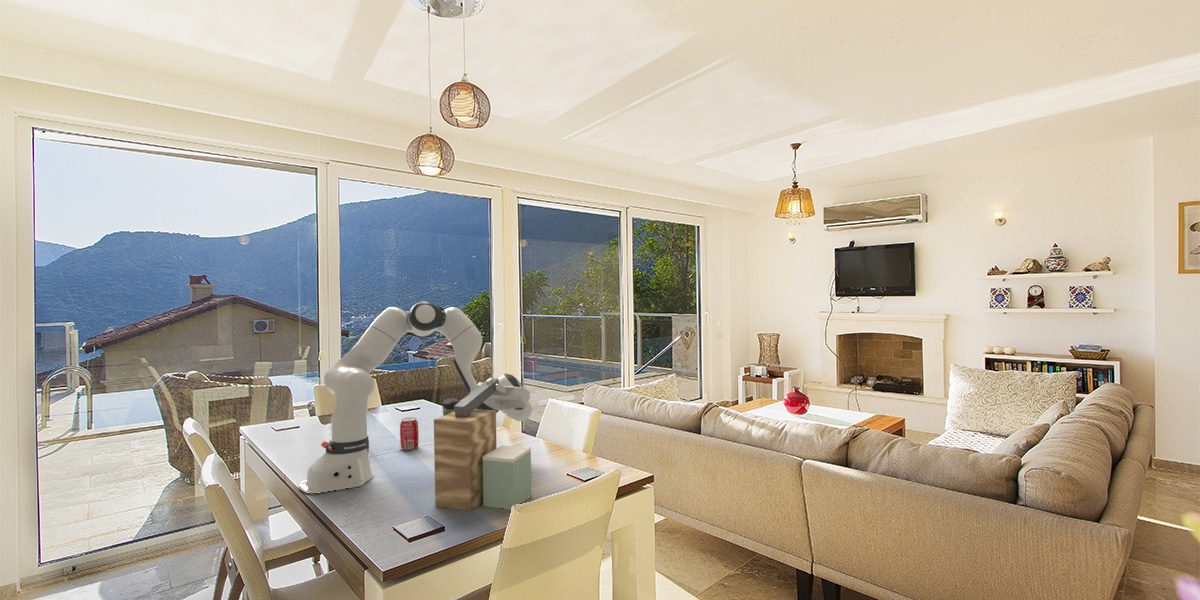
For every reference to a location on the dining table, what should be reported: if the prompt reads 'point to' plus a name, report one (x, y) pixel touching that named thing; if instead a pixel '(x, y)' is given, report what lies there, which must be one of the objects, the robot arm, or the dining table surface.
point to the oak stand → (462, 457)
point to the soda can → (409, 433)
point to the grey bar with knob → (475, 398)
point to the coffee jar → (449, 405)
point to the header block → (506, 476)
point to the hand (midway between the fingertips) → (489, 385)
